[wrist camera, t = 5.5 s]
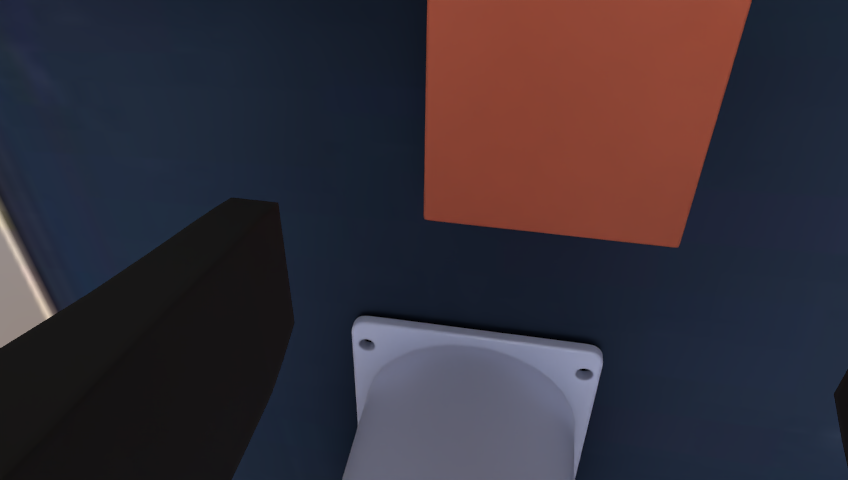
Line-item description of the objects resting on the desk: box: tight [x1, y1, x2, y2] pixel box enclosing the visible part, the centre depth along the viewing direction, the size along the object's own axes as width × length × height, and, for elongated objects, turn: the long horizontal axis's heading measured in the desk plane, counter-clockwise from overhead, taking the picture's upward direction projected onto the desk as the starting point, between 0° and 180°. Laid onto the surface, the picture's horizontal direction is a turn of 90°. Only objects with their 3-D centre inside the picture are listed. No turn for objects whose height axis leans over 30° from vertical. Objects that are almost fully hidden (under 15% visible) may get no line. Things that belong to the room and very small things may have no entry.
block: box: [424, 0, 752, 248], centre depth 14 cm, size 5×5×5 cm
